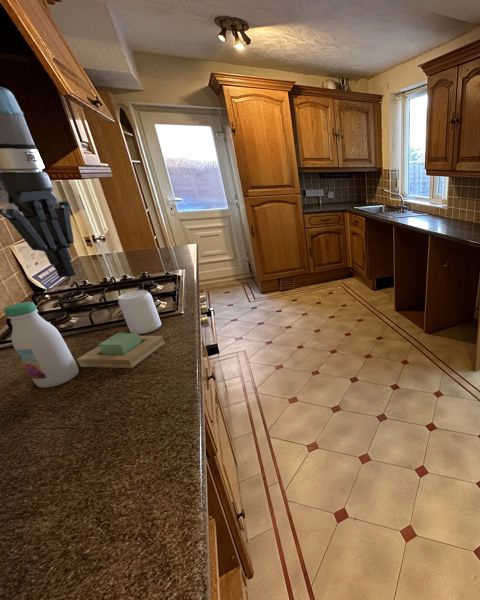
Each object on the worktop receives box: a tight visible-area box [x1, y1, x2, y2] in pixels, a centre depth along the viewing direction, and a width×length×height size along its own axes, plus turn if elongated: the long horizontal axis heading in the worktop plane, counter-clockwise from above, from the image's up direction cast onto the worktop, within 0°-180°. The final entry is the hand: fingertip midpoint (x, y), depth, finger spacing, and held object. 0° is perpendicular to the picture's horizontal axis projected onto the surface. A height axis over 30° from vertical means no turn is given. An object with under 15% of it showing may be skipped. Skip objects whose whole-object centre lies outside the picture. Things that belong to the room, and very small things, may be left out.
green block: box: [98, 332, 142, 355], centre depth 88 cm, size 6×6×4 cm
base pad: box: [76, 335, 166, 369], centre depth 88 cm, size 14×12×2 cm
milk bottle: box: [3, 301, 80, 389], centre depth 75 cm, size 8×8×20 cm
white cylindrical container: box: [117, 289, 162, 335], centre depth 99 cm, size 8×8×12 cm
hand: (67, 275), depth 78 cm, fingers closed
